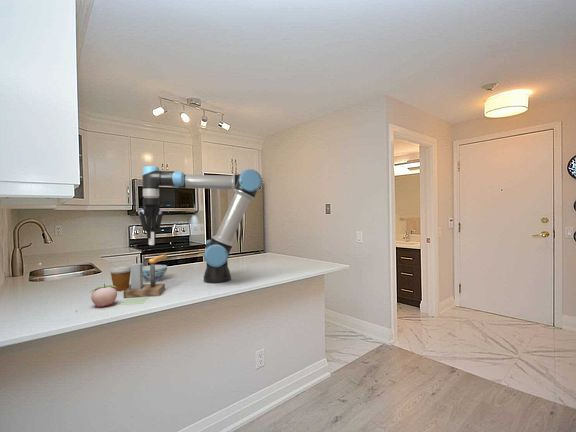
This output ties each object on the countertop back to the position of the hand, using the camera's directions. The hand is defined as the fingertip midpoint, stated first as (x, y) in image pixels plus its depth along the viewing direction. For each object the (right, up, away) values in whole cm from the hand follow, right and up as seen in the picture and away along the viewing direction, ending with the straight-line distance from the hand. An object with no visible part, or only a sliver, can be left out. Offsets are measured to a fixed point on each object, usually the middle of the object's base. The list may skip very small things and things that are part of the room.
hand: (151, 244), depth 152 cm
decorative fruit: (-7, -24, -27) cm, 36 cm away
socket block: (+1, -23, -9) cm, 25 cm away
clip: (+5, -8, -3) cm, 9 cm away
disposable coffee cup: (-15, -23, -1) cm, 27 cm away
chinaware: (-9, -23, +21) cm, 32 cm away
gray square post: (-2, -22, -10) cm, 24 cm away
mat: (+2, -23, -21) cm, 32 cm away
